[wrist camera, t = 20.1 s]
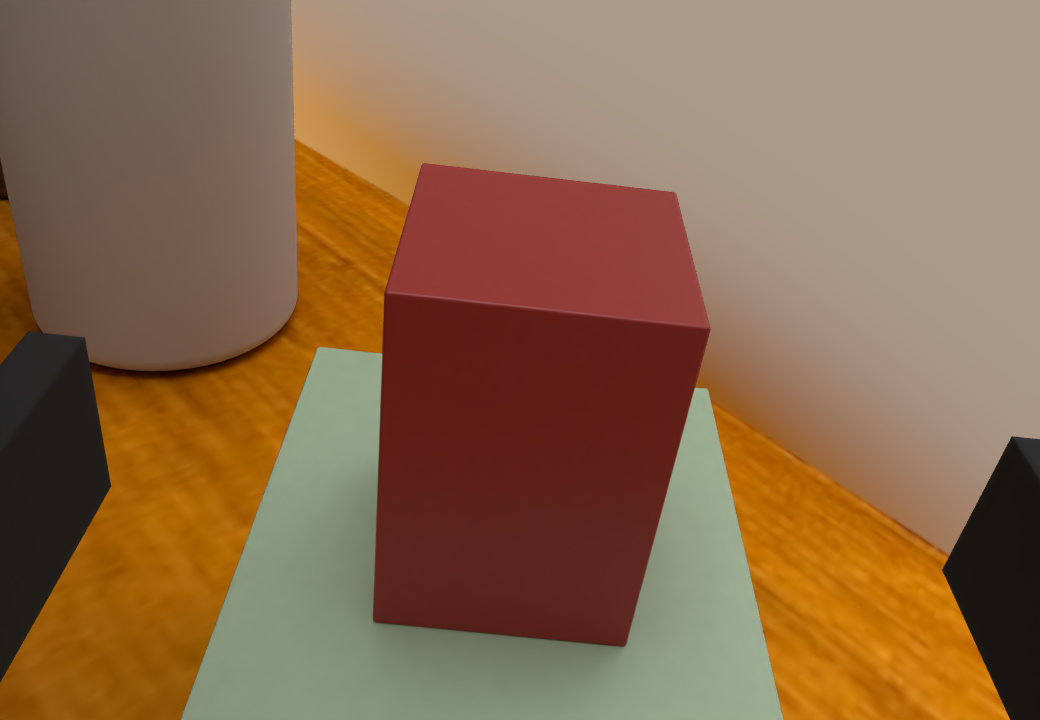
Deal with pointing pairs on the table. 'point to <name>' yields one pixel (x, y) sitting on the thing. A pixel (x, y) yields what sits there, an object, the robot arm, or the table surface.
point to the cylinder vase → (152, 173)
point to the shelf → (454, 653)
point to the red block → (531, 402)
